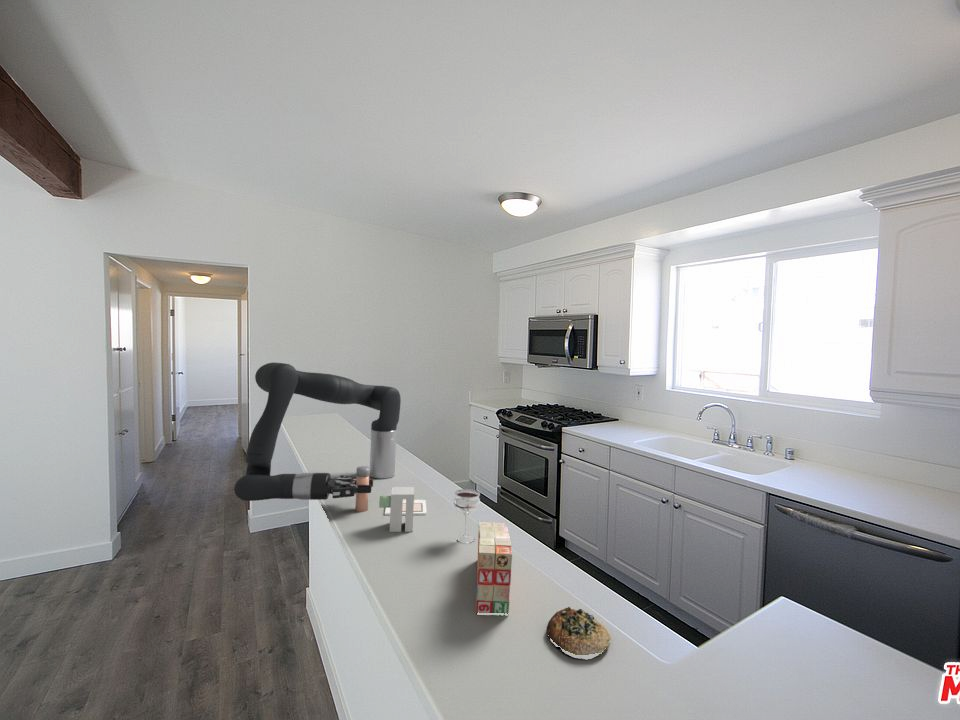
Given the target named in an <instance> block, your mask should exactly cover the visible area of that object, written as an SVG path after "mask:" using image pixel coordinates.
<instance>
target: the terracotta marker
mask: <svg viewBox="0 0 960 720" xmlns="http://www.w3.org/2000/svg"><path fill="white" fill-rule="evenodd" d="M355 470H356V471H355V472H356V477H357V479H356V485H369V480H370V466H365V465H364V466H362V465H361V466H357V467H356V469H355ZM369 494H370V493H358V494H355V506H354V507H355V510H354V511H355V512H358V513H362V512H368V510H369Z"/></svg>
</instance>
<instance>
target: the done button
mask: <svg viewBox="0 0 960 720" xmlns="http://www.w3.org/2000/svg"><path fill="white" fill-rule="evenodd" d="M378 507H379V508H381V509H383V508H385V509H386V508H391V495H380V496H379V506H378Z"/></svg>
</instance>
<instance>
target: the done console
mask: <svg viewBox="0 0 960 720" xmlns="http://www.w3.org/2000/svg"><path fill="white" fill-rule="evenodd" d="M390 496H391V508H390V515H389V516H390V518H389V533H400V532H402V526H403V525H402V522H403V515H402V504H403V500H406V515H405V519H404V522H405V523H404V524H405V525H404V532H405V533H408V532H409V533H411V532H414V530H413V527H414V515H413V509H414V500H415V487H414V486H392V488H391V492H390Z"/></svg>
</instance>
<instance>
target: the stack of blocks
mask: <svg viewBox="0 0 960 720" xmlns="http://www.w3.org/2000/svg"><path fill="white" fill-rule="evenodd" d="M477 531H478V533H477V534H478V535H477V537H478V538H477V541H478V542H477V565H476V566H477V567H476V568H477V569H476V570H477V571H476V572H477V573H476V581H477V582H476V595H475V596H476V599H475V600H476V601H475V614H476V613H478V612H479V613H504V614H505V613H507V614H508V613H509V612H510V590H511V589H510V587H511V582H512V581H511V580H512V579H511V578H512V561H513V551H512V543H511V537H510V533H509V528H508V526H507V525H506V523H505V522H487V521H486V522H483V521H479V522H478V530H477ZM508 615H509V614H508Z"/></svg>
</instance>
